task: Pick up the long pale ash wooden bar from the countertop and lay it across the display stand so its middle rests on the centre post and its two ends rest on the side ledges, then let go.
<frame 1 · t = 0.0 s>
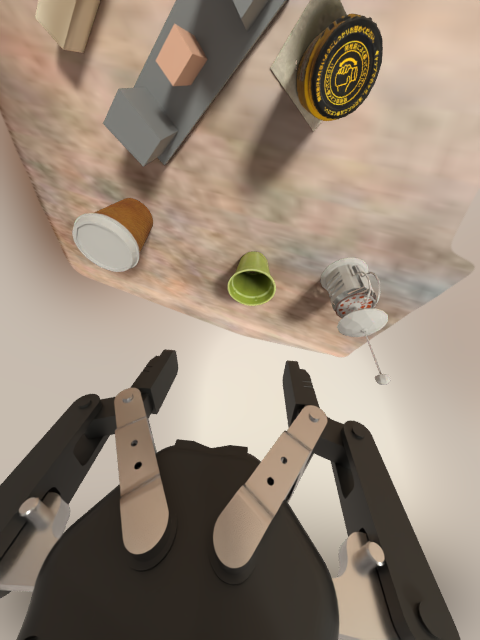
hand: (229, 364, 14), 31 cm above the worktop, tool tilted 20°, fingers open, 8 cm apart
plant pot: (253, 263, 44), on the worktop
french press: (345, 272, 44), on the worktop
disposable coffee cup: (136, 215, 39), on the worktop
display stand: (195, 62, 24), on the worktop
condiment: (318, 66, 23), on the worktop
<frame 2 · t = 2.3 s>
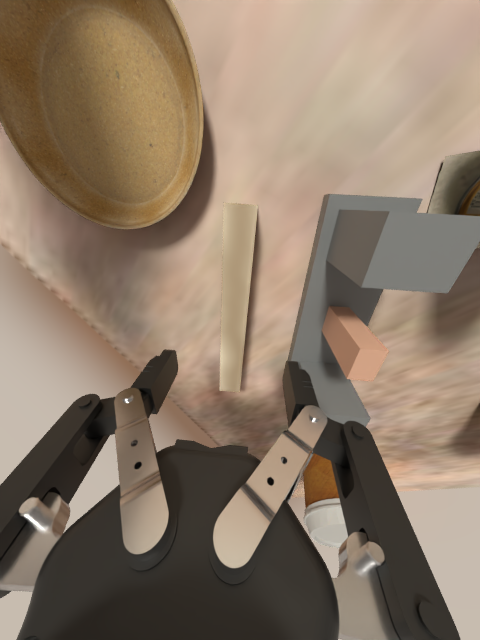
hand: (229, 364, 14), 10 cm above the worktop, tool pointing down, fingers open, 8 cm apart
disposable coffee cup: (319, 433, 34), on the worktop
display stand: (330, 312, 22), on the worktop
plant saucer: (120, 125, 16), on the worktop
ash bar: (237, 304, 23), on the worktop
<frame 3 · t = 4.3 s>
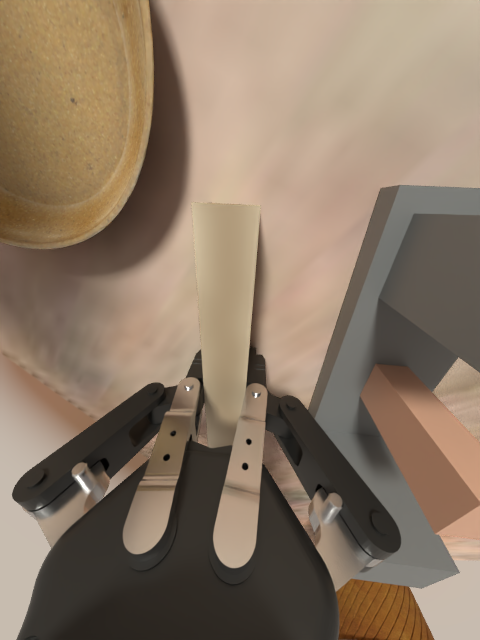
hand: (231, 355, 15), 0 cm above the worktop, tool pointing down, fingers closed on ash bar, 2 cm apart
disposable coffee cup: (341, 500, 26), on the worktop
display stand: (371, 366, 15), on the worktop
plant saucer: (19, 66, 9), on the worktop
ash bar: (231, 353, 15), on the worktop, touching gripper
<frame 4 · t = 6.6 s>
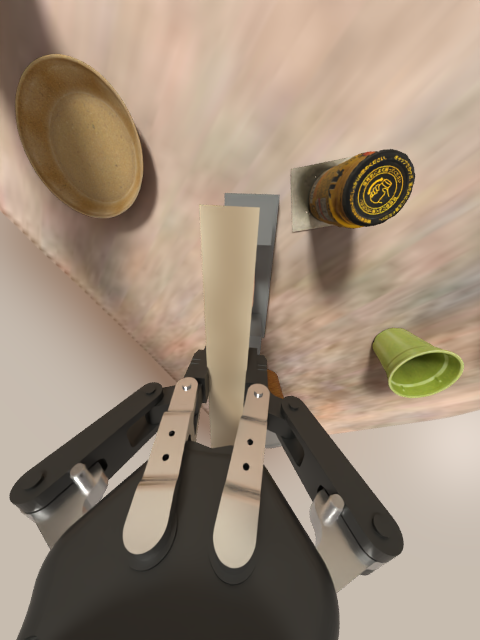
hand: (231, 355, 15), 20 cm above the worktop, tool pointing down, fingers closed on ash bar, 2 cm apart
plant pot: (389, 340, 36), on the worktop
disposable coffee cup: (263, 378, 43), on the worktop
display stand: (248, 275, 32), on the worktop
condiment: (323, 196, 26), on the worktop
plant saucer: (97, 154, 26), on the worktop
ash bar: (233, 345, 16), point 18 cm above the worktop, touching gripper
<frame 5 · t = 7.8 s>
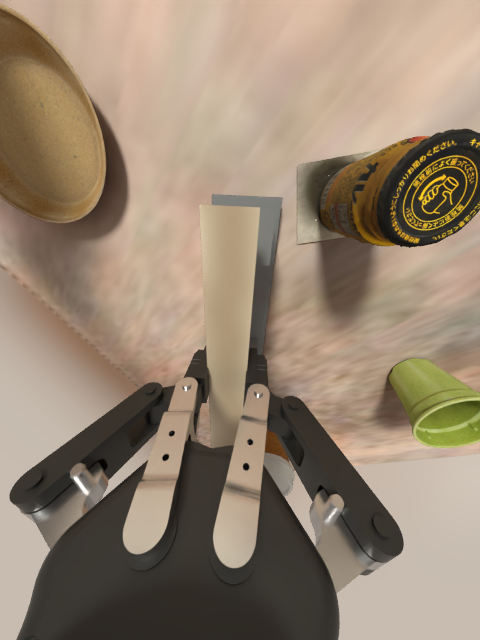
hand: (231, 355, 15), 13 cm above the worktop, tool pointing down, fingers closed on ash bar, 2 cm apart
plant pot: (409, 371, 31), on the worktop
disposable coffee cup: (259, 408, 38), on the worktop
display stand: (242, 293, 26), on the worktop
condiment: (338, 201, 21), on the worktop
plant saucer: (51, 141, 20), on the worktop
ash bar: (233, 345, 16), point 11 cm above the worktop, touching gripper
when the fingers open (11 cm above the worktop, at t = 8.9 s): ash bar stays where it is, resting on display stand.
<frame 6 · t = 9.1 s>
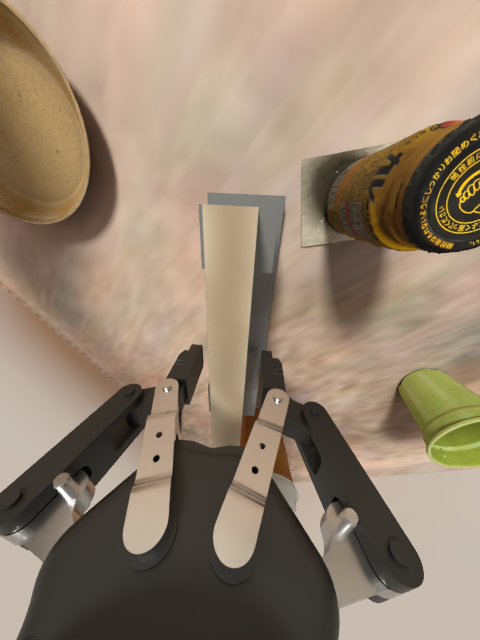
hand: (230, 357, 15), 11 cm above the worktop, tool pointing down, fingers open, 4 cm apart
plant pot: (420, 382, 29), on the worktop
disposable coffee cup: (260, 418, 36), on the worktop
display stand: (241, 300, 24), on the worktop
condiment: (346, 200, 19), on the worktop
plant saucer: (31, 135, 19), on the worktop
ash bar: (233, 340, 17), point 8 cm above the worktop, touching display stand
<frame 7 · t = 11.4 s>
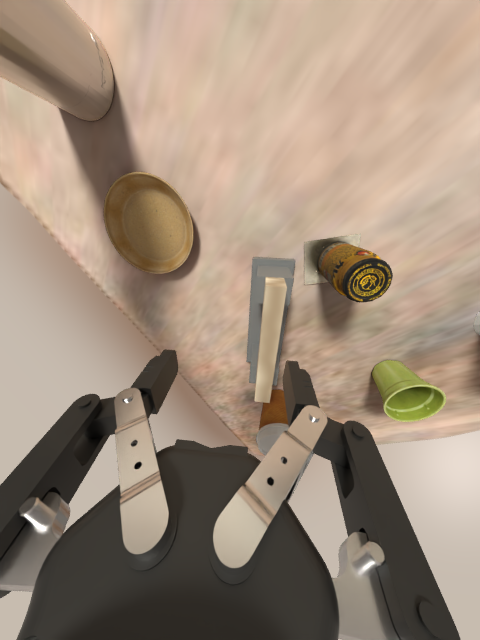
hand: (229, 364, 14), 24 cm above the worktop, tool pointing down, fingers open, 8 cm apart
plant pot: (386, 369, 42), on the worktop
disposable coffee cup: (276, 397, 50), on the worktop
display stand: (267, 315, 39), on the worktop
condiment: (329, 260, 33), on the worktop
plant saucer: (156, 227, 34), on the worktop
ash bar: (267, 338, 32), point 8 cm above the worktop, touching display stand
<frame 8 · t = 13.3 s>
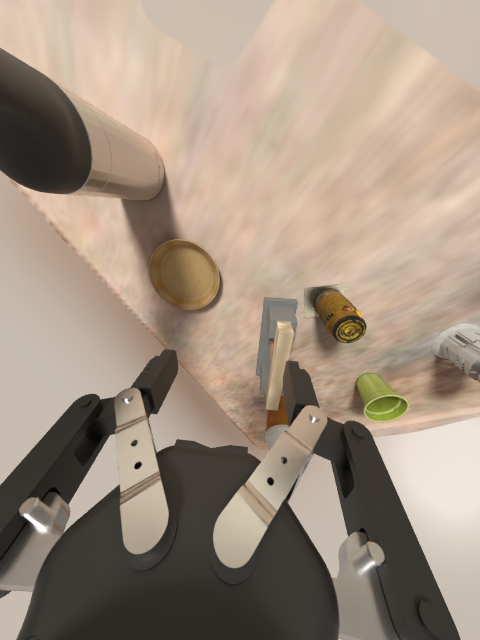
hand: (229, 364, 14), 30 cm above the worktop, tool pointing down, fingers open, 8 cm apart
plant pot: (367, 380, 53), on the worktop
french press: (454, 339, 45), on the worktop
disposable coffee cup: (279, 402, 60), on the worktop
display stand: (274, 339, 49), on the worktop
condiment: (323, 301, 43), on the worktop
plant saucer: (188, 273, 43), on the worktop
ash bar: (276, 362, 42), point 8 cm above the worktop, touching display stand
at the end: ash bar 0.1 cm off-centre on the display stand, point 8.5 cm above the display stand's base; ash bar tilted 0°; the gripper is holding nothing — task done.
